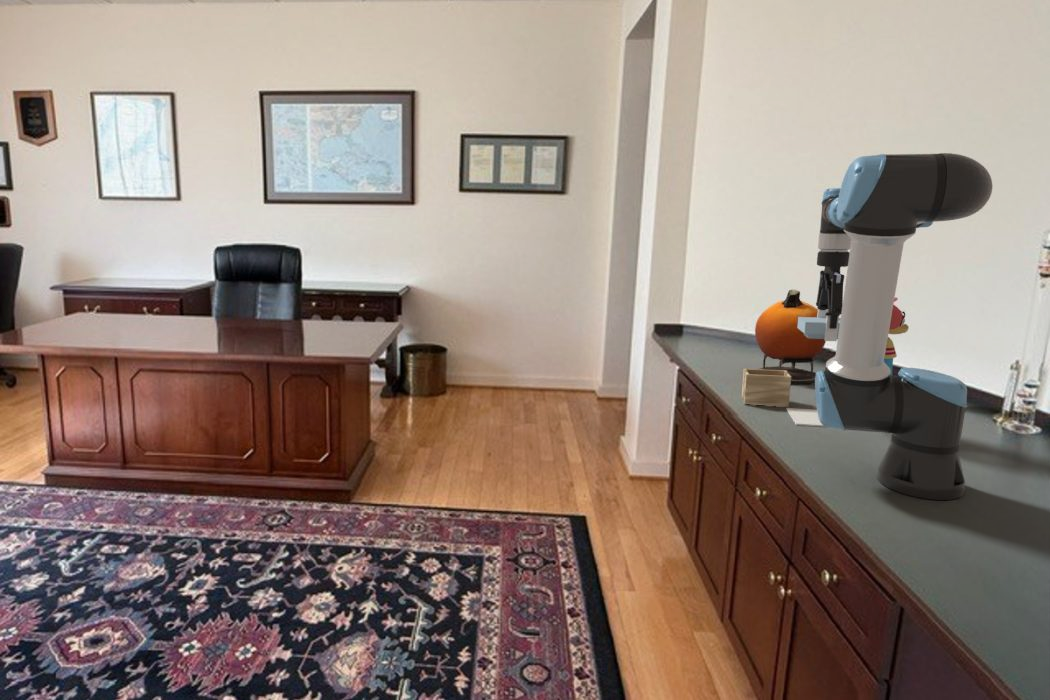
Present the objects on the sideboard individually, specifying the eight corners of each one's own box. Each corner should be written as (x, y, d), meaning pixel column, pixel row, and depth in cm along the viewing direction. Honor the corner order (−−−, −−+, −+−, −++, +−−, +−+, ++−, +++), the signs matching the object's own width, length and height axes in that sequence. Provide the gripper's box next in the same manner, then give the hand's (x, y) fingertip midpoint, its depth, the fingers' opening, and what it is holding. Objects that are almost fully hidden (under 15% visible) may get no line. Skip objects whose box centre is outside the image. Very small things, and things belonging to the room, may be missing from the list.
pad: (854, 428, 163) (854, 427, 163) (796, 424, 166) (796, 423, 166) (839, 412, 177) (839, 411, 177) (786, 409, 180) (786, 408, 180)
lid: (857, 341, 161) (858, 323, 160) (803, 339, 164) (805, 322, 163) (847, 334, 170) (848, 318, 169) (796, 333, 173) (798, 316, 172)
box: (788, 407, 182) (791, 376, 180) (744, 404, 184) (746, 374, 182) (783, 399, 189) (786, 370, 187) (741, 397, 191) (743, 368, 189)
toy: (909, 403, 185) (922, 300, 179) (871, 401, 187) (883, 299, 181) (891, 389, 199) (903, 294, 193) (856, 388, 201) (867, 293, 195)
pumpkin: (778, 366, 231) (785, 283, 224) (837, 379, 212) (846, 289, 206) (738, 374, 219) (744, 287, 213) (797, 389, 200) (805, 294, 194)
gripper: (862, 253, 151) (853, 345, 156) (838, 248, 172) (830, 330, 177) (828, 252, 153) (820, 344, 157) (808, 248, 174) (801, 329, 178)
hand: (825, 337), depth 167 cm, fingers closed on lid, 9 cm apart
